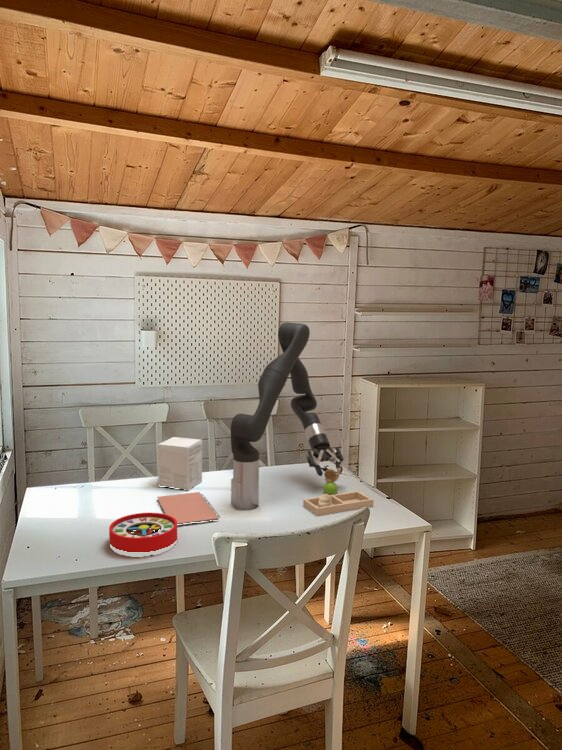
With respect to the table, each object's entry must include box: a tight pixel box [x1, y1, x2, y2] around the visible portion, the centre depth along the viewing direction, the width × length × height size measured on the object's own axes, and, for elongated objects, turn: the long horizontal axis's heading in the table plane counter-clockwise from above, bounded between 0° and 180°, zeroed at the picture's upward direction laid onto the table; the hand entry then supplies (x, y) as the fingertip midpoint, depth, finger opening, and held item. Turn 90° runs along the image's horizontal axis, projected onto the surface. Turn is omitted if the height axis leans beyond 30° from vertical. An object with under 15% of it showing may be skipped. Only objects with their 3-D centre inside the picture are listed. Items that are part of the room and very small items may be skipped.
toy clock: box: [108, 512, 178, 552], centre depth 172 cm, size 20×6×20 cm
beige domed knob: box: [318, 493, 332, 507], centre depth 200 cm, size 5×5×5 cm
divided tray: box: [302, 490, 374, 517], centre depth 203 cm, size 23×10×4 cm, turn 116°
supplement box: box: [157, 436, 203, 491], centre depth 226 cm, size 13×13×18 cm
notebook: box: [156, 491, 220, 524], centre depth 199 cm, size 27×17×2 cm, turn 22°
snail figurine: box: [323, 464, 342, 495], centre depth 216 cm, size 5×6×12 cm
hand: (331, 473), depth 216 cm, fingers open, 8 cm apart
